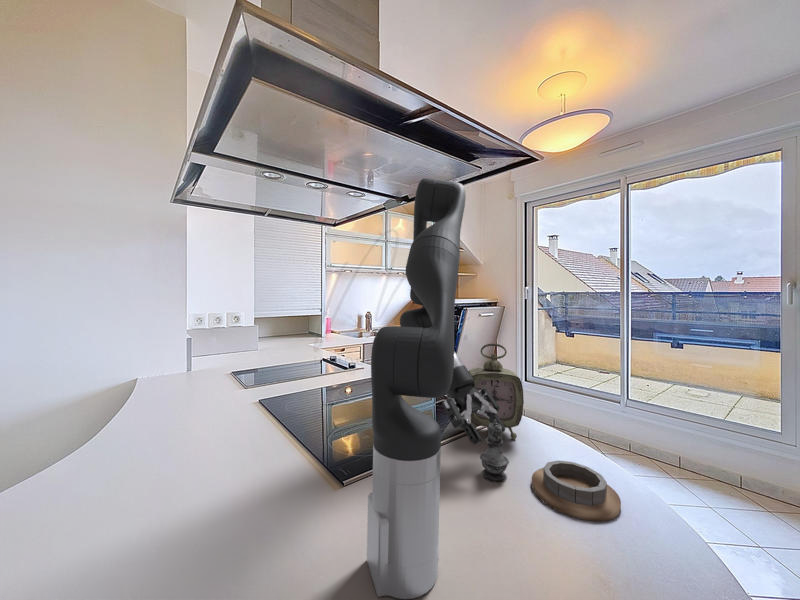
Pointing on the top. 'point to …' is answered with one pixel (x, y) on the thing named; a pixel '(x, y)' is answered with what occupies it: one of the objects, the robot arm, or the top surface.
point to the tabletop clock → (499, 391)
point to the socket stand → (576, 491)
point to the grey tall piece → (494, 455)
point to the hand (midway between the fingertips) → (490, 437)
